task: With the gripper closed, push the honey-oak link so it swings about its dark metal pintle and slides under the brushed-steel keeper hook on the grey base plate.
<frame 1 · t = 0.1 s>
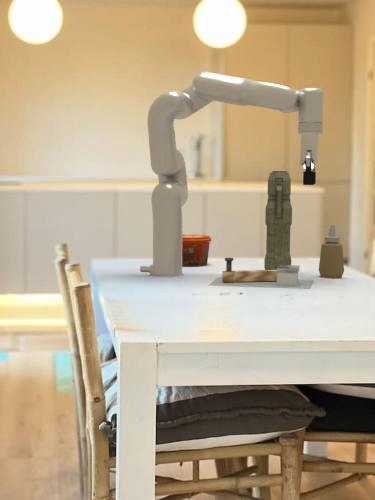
hand: (309, 184, 271), 31 cm above the table, tool pointing down, fingers open, 9 cm apart
squeeze bottle: (331, 282, 280), on the table
base plate: (262, 287, 265), on the table
keeper: (288, 284, 262), resting on base plate
olive green pillar: (277, 276, 293), on the table
oak link: (258, 268, 268), point 5 cm above the table, hinge at 25.0°
food container: (189, 265, 324), on the table
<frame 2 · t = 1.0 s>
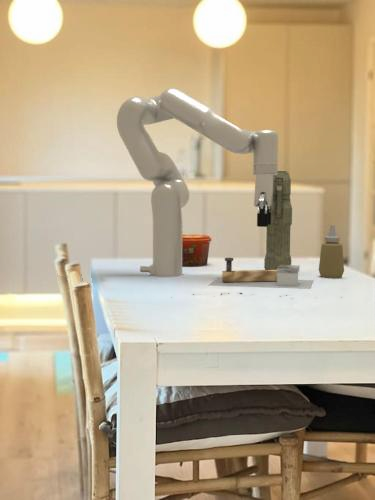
hand: (263, 225, 273), 18 cm above the table, tool pointing down, fingers open, 9 cm apart
nothing on the table moved.
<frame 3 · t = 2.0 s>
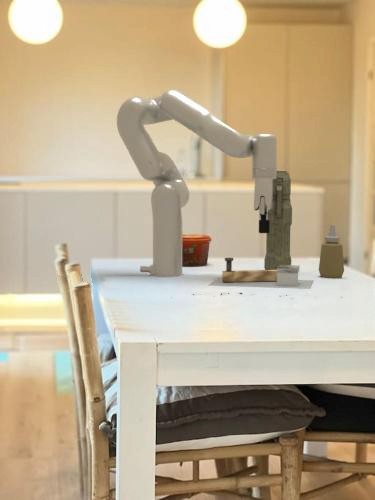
hand: (264, 232, 273), 16 cm above the table, tool pointing down, fingers closed
nothing on the table moved.
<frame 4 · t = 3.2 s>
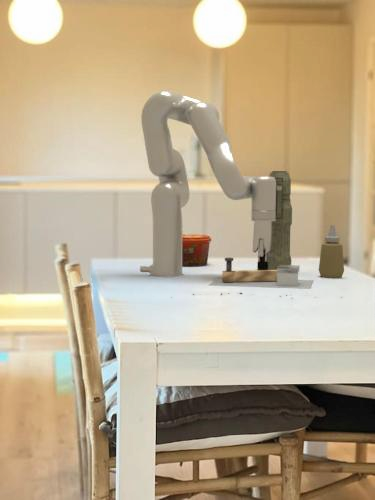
hand: (262, 274, 274), 3 cm above the table, tool pointing down, fingers closed
nothing on the table moved.
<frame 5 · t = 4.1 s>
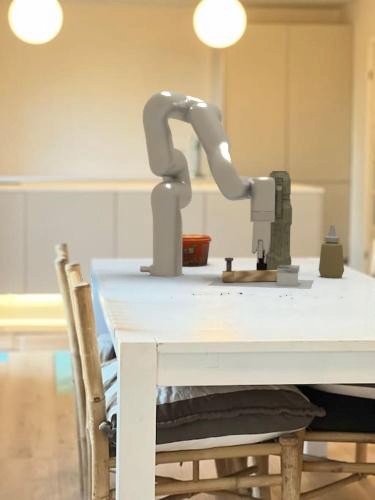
hand: (261, 275, 271), 3 cm above the table, tool pointing down, fingers closed
oak link: (258, 269, 267), point 5 cm above the table, hinge at 24.0°, touching gripper
everything else where it was.
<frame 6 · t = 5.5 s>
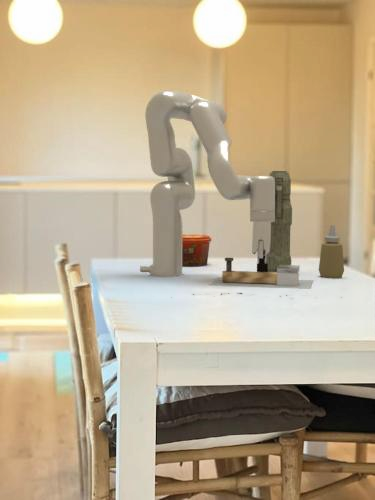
hand: (262, 276, 266), 3 cm above the table, tool pointing down, fingers closed
oak link: (260, 270, 263), point 5 cm above the table, hinge at -1.4°, touching gripper, keeper
everything else where it was.
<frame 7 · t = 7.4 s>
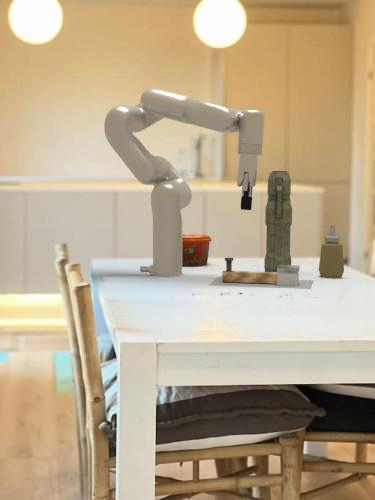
hand: (245, 209, 271), 23 cm above the table, tool pointing down, fingers closed
oak link: (260, 270, 263), point 5 cm above the table, hinge at -1.3°
everything else where it was.
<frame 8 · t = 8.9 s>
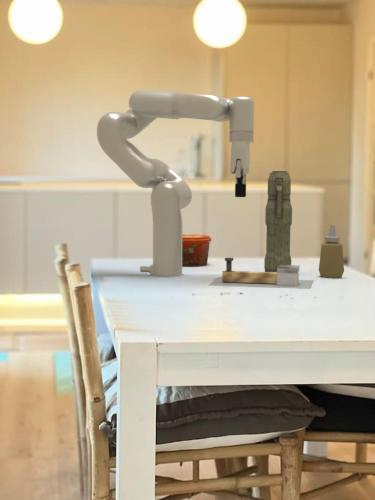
hand: (240, 196, 272), 27 cm above the table, tool pointing down, fingers closed
nothing on the table moved.
at the end: oak link at -1° (first picture: +25°) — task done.
